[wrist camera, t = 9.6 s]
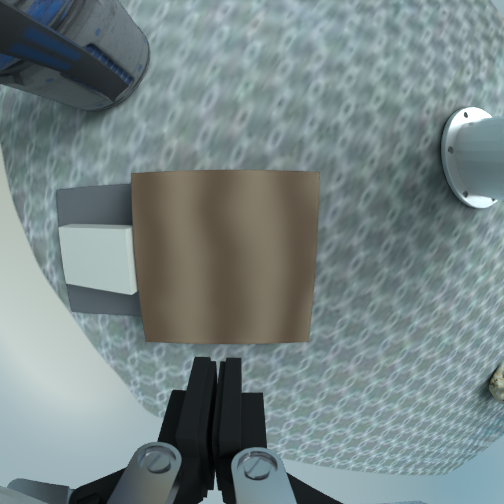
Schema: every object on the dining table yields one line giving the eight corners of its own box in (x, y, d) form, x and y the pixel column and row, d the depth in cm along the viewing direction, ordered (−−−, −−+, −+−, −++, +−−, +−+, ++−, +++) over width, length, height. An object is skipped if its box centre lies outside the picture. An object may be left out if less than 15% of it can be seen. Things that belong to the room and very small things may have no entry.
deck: (308, 172, 29) (319, 172, 25) (300, 323, 33) (308, 341, 29) (144, 172, 28) (131, 173, 24) (154, 323, 32) (145, 341, 28)
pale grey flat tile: (137, 225, 27) (125, 229, 25) (142, 287, 28) (131, 294, 27) (71, 223, 29) (58, 227, 27) (77, 277, 30) (65, 283, 28)
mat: (140, 183, 29) (139, 183, 28) (150, 314, 32) (149, 316, 32) (58, 189, 28) (56, 189, 28) (72, 310, 32) (71, 311, 31)
